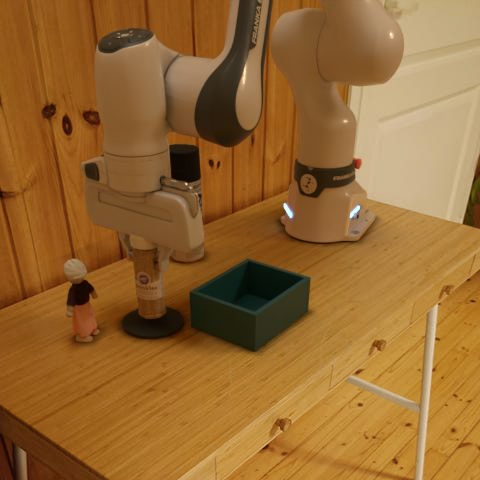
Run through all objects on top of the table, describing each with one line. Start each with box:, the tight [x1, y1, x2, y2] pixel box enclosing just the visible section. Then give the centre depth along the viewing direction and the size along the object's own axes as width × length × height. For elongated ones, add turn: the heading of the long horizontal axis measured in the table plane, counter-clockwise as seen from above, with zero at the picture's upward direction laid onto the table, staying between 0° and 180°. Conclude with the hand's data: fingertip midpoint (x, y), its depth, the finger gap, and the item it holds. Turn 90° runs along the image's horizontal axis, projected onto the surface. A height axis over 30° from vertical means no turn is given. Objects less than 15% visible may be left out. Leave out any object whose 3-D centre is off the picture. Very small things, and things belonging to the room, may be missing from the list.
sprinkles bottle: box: [130, 234, 167, 319], centre depth 93 cm, size 5×5×14 cm
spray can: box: [169, 143, 205, 263], centre depth 113 cm, size 7×7×20 cm
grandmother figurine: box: [63, 258, 101, 343], centre depth 91 cm, size 8×4×13 cm, turn 171°
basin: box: [188, 257, 312, 352], centre depth 98 cm, size 16×13×6 cm
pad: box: [121, 306, 185, 340], centre depth 99 cm, size 10×10×1 cm
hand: (148, 264), depth 93 cm, fingers closed on sprinkles bottle, 4 cm apart
